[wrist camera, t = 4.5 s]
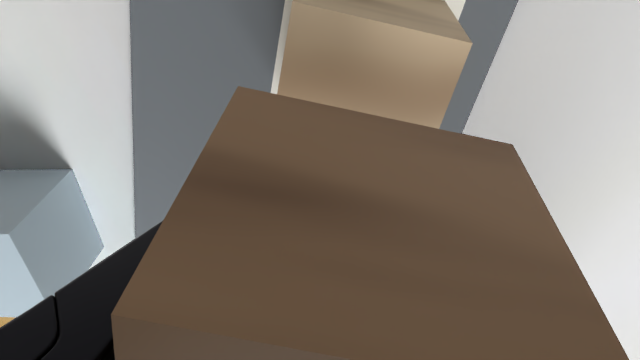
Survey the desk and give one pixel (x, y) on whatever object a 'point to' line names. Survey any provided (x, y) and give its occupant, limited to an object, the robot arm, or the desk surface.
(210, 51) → the build mat
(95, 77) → the desk surface
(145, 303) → the walnut block
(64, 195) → the block
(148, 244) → the robot arm
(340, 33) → the oak block
